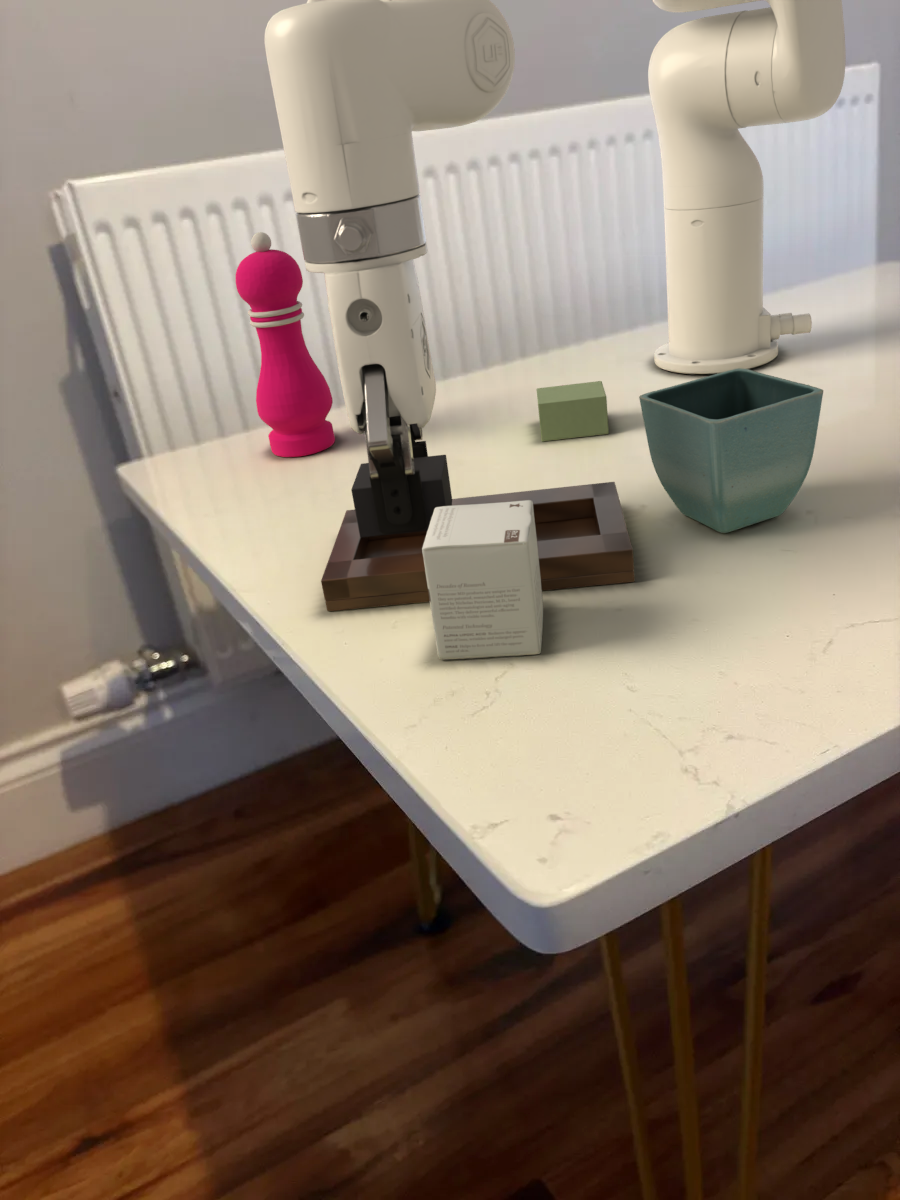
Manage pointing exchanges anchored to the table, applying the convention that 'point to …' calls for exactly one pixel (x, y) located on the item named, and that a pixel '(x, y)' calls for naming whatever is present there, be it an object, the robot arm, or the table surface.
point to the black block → (432, 486)
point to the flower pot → (732, 444)
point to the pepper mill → (284, 354)
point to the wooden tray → (562, 515)
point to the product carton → (484, 580)
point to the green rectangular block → (572, 411)
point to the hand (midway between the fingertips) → (407, 511)
